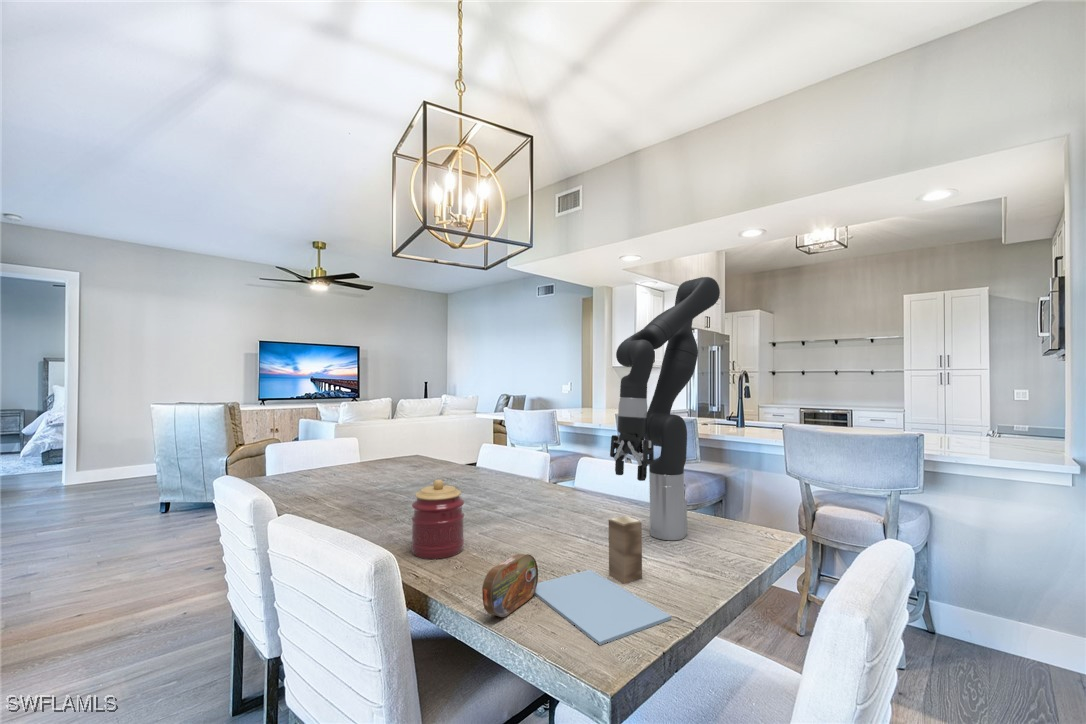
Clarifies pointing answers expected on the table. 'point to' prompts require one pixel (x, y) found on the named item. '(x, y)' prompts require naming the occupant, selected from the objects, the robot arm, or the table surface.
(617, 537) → the walnut block
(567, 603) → the mat
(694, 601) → the table surface
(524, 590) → the tin
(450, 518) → the canister
